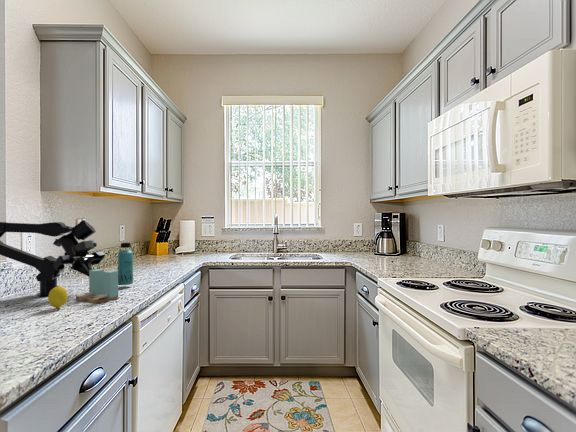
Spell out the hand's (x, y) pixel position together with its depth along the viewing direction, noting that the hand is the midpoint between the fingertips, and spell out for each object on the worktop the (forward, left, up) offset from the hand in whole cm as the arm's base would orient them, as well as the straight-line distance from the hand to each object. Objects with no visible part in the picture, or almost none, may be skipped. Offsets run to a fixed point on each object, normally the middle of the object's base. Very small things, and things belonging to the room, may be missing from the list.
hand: (90, 275), depth 132 cm
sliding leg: (+4, 0, -7) cm, 8 cm away
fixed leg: (+12, +2, -7) cm, 14 cm away
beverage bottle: (-8, +16, -8) cm, 20 cm away
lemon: (+11, -13, -8) cm, 19 cm away
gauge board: (+7, 0, -8) cm, 11 cm away
